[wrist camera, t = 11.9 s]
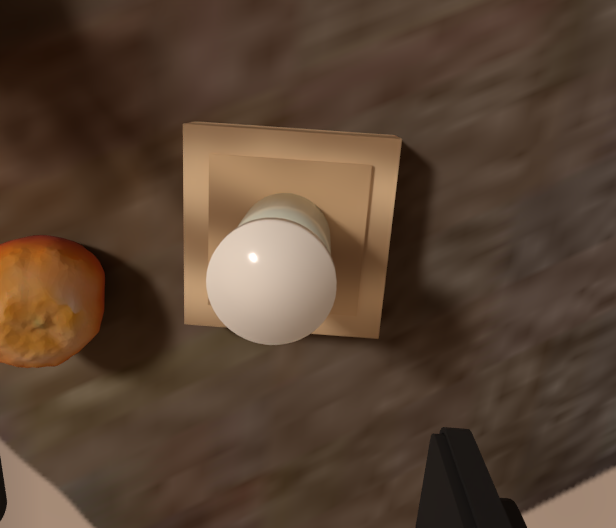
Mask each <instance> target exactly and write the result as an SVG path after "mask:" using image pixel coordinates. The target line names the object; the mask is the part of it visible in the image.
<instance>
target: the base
mask: <svg viewBox="0 0 616 528" xmlns="http://www.w3.org/2000/svg"><path fill="white" fill-rule="evenodd" d="M401 143H402V139H401V138H399V137H397V136H396V135H385V134H370V133H356V132H341V131H327V130H313V129H298V128H284V127H270V126H255V125H241V124H227V123H212V122H198V121H195V122H190V123H184V124H183V198H184V323H185V324H189V325H203V326H216V327H227V326H225V325H224V324H223V322H222V321H221V320H220V319H219V318H218V316H217V315H216V313H215V312H214V310H213V308H212V306H211V304H210V301H209V298H208V294H207V288H206V275H207V269H208V265H209V262H210V259H211V257H212V255H213V253H214V251H215V250H216V248H217V247H218V246H219V244H220V243H221V242H222V240H223V239H224V238H225V237H226V236H227V235H228V234H229V233H230V232H231V231H232V230H234V229H235V228H237V227H238V225H239V224H240V222H241V221H242V219H243V218H244V217H245V215H246V214H247V212H248V211H249V210H250V208H251V207H252V206H253V205H254V204H255V203H257V202H258V201H259V200H261V199H263V198H264V197H267V196H269V195H273V194H277V193H291V194H296V195H300V196H302V197H305V198H306V199H308V200H310V201H311V202H313V203H314V204H315V205H316V206H317V207H318V208H319V209H320V210H321V211H322V213H323V214H324V216H325V218H326V220H327V222H328V225H329V229H330V239H331V257H332V259H333V262H334V266H335V271H336V282H337V283H336V296H335V300H334V304H333V307H332V309H331V311H330V313H329V315H328V316H327V318H326V319H325V321H324V322H323V323H322V324H321V325H320V326H319V327H318V328H317V329H316V330H315V331H314V332H312V333H311V334H322V335H336V336H349V337H362V338H376V339H378V338H379V330H380V321H381V313H382V304H383V296H384V287H385V279H386V270H387V262H388V253H389V245H390V236H391V228H392V219H393V211H394V202H395V194H396V185H397V177H398V169H399V160H400V152H401Z"/></svg>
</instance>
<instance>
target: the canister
mask: <svg viewBox="0 0 616 528" xmlns="http://www.w3.org/2000/svg"><path fill="white" fill-rule="evenodd" d="M336 283H337V282H336V271H335V266H334V262H333V259H332V257H331V239H330V229H329V225H328V222H327V220H326V218H325V216H324V214H323V213H322V211H321V210H320V209H319V208H318V207H317V206H316V205H315V204H314V203H313V202H311V201H310V200H308V199H306V198H305V197H302V196H300V195H296V194H291V193H277V194H273V195H269V196H267V197H264V198H263V199H261V200H259V201H258V202H257V203H255V204H254V205H253V206H252V207H251V208H250V210H249V211H248V212H247V214H246V215H245V217H244V218H243V219H242V221H241V222H240V224H239V225H238V227H237V228H235V229H234V230H232V231H231V232H230V233H229V234H228V235H227V236H226V237H225V238H224V239H223V240H222V242H221V243H220V244H219V246H218V247H217V248H216V250H215V251H214V253H213V255H212V257H211V259H210V262H209V265H208V269H207V275H206V288H207V294H208V298H209V301H210V304H211V306H212V308H213V310H214V312H215V313H216V315H217V316H218V318H219V319H220V320H221V321H222V322H223V324H224V325H225V326H227V327H228V328H229V329H230V330H231V331H233V332H234V333H235V334H237V335H239V336H241V337H242V338H244V339H247V340H249V341H252V342H256V343H260V344H267V345H280V344H287V343H291V342H294V341H297V340H300V339H302V338H304V337H306V336H308V335H309V334H311V333H312V332H314V331H315V330H316V329H317V328H318V327H319V326H320V325H321V324H322V323H323V322H324V321H325V319H326V318H327V316H328V315H329V313H330V311H331V309H332V307H333V304H334V300H335V296H336Z"/></svg>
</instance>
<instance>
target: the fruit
mask: <svg viewBox="0 0 616 528" xmlns="http://www.w3.org/2000/svg"><path fill="white" fill-rule="evenodd" d="M104 298H105V273H104V270H103V268H102V266H101V264H100V262H99V261H98V259H97V258H96V257H95V256H94V255H93V254H92V253H91V252H90V251H88V250H87V249H85V248H84V247H83V246H82V245H80V244H78V243H76V242H74V241H71V240H67V239H64V238H60V237H55V236H47V235H34V236H28V237H24V238H20V239H15V240H12V241H8V242H5V243H2V244H0V362H1V363H6V364H9V365H13V366H16V367H25V368H30V367H36V368H39V367H46V366H57V365H59V364H61V363H63V362H65V361H66V360H68V359H69V358H70V357H72V356H73V355H75V354H77V353H78V352H79V351H81V349H82V348H83V347H84V346H85V345H87V344H88V343H89V342H90V341H91V340H92V339H93V338H94V337H95V335H96V334H97V333H98V332H99V330H100V325H101V321H102V317H103V314H104Z"/></svg>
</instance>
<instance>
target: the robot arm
mask: <svg viewBox="0 0 616 528" xmlns="http://www.w3.org/2000/svg"><path fill="white" fill-rule="evenodd" d="M6 505H7V498H6V491H5V485H4V478H3V472H2V465H1V458H0V521H1V519H2V518H3V515H4V513H5V510H6ZM416 528H527V526H526V524H525V522H524V520H523V517H522V515H521V513H520V511H519V509H518V507H517V505H516V504H515V502H514V501H513V500H511V499H508V498H499V496H498V493H497V491H496V489H495V486H494V484H493V481H492V479H491V477H490V474H489V472H488V470H487V467H486V465H485V463H484V460H483V458H482V456H481V453H480V451H479V448H478V446H477V444H476V441H475V439H474V437H473V434H472V432H471V431H470V430H469V429H460V428H447V427H443V428H441V430H440V434H432V435H431V439H430V444H429V450H428V456H427V462H426V468H425V474H424V480H423V486H422V492H421V498H420V504H419V510H418V516H417V522H416Z"/></svg>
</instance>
